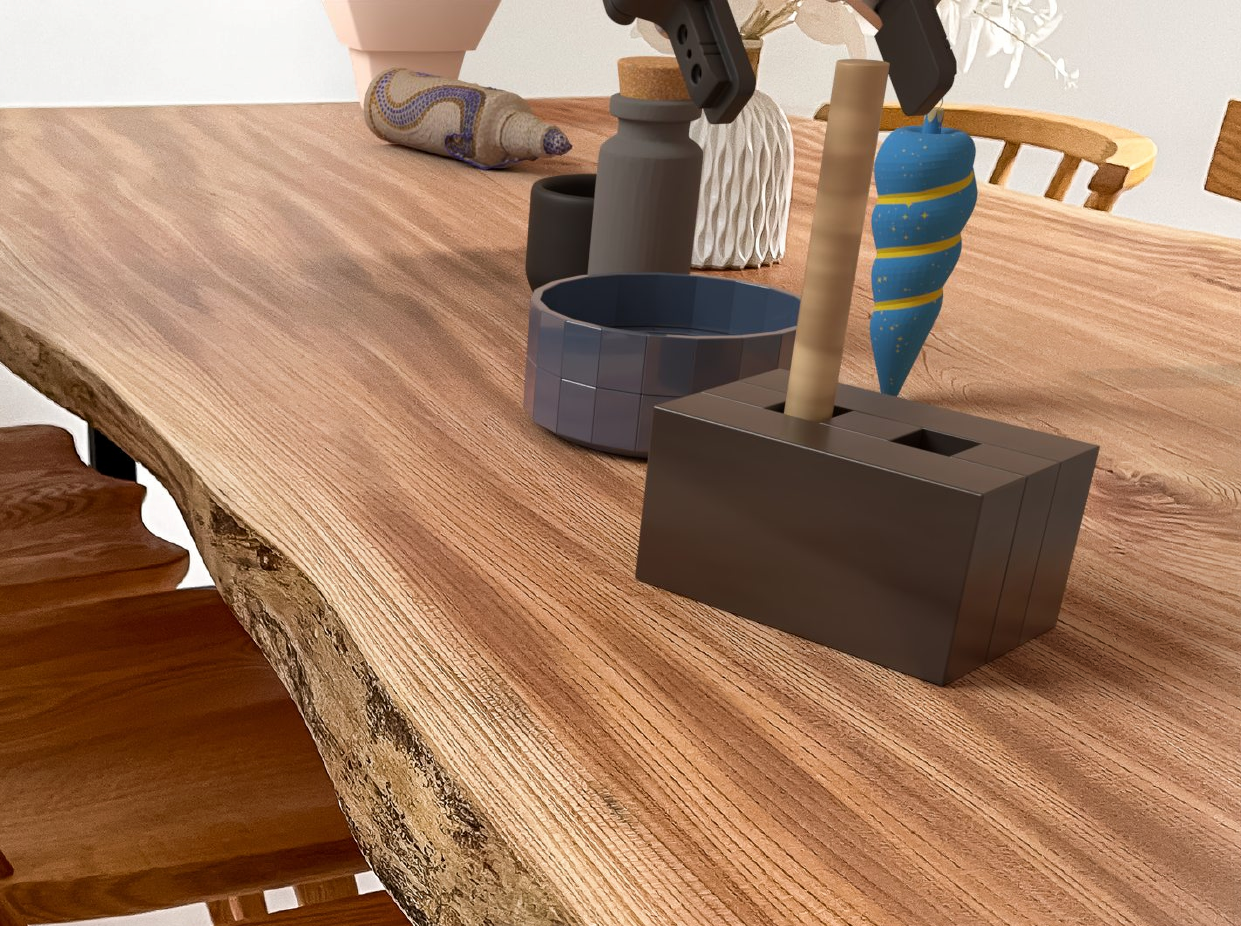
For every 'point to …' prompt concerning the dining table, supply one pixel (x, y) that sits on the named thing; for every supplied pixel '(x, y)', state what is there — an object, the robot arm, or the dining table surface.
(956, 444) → the utensil block
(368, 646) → the dining table surface
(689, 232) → the bottle
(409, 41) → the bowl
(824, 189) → the stirring stick
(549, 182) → the mug
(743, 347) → the mixing bowl
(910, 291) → the ornament
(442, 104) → the decorative bottle
